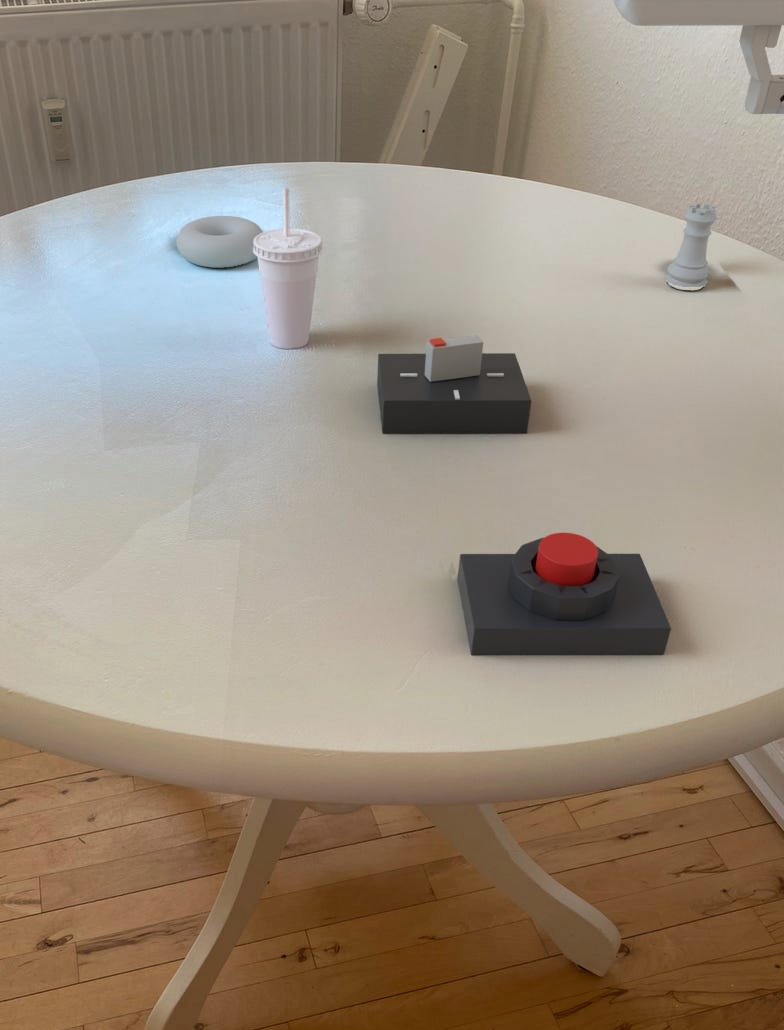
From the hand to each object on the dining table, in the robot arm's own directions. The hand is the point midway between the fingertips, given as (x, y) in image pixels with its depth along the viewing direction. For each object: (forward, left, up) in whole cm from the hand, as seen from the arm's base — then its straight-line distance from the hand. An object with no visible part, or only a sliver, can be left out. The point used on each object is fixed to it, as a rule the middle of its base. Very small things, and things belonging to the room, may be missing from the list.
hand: (772, 112), depth 62 cm
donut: (+37, -53, -27) cm, 70 cm away
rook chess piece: (-13, -44, -27) cm, 53 cm away
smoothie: (+29, -30, -27) cm, 50 cm away
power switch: (+11, +13, -27) cm, 32 cm away
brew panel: (+15, -16, -27) cm, 35 cm away
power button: (+11, +13, -23) cm, 29 cm away
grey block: (+15, -16, -24) cm, 33 cm away
